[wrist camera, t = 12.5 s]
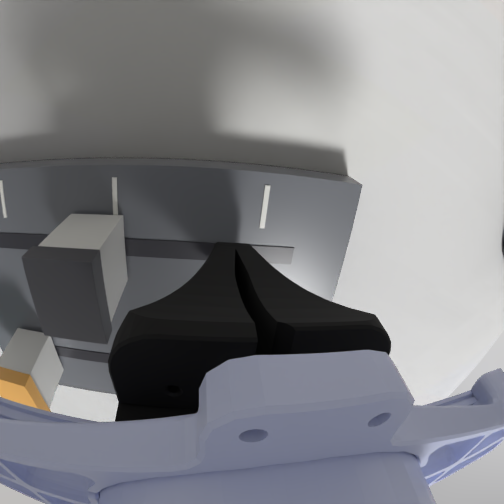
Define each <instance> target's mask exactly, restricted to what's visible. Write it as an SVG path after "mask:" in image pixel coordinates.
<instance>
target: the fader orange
mask: <svg viewBox="0 0 504 504" xmlns="http://www.w3.org/2000/svg"><path fill="white" fill-rule="evenodd" d="M63 371H64V369H63V367H62V364H61V362H60V359H59V357H58V354H57V352H56V349H55V346H54V344H53V341H52V338H51V336H45V335H44V333H42V332H36V331H31V330H26V329H21V328H17V330H16V332H15V333H14V335H13V337H12V338H11V340H10V342H9V343H8V345H7V347H6V348H5V350H4V352H3V354H2V355H1V357H0V396H1V397H2V398H5V399H8V400H11V401H14V402H17V403H20V404H24V405H27V406H31V407H34V408H38V409H41V410H45V411H49V412H51V411H50V409H49V408H50V405H51V403H52V400H53V397H54V394H55V391H56V389H57V386H58V383H59V381H60V378H61V376H62V373H63Z"/></svg>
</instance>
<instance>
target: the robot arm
mask: <svg viewBox="0 0 504 504" xmlns="http://www.w3.org/2000/svg"><path fill="white" fill-rule="evenodd" d="M390 350H391V341H390V338H389V336H388V334H387V332H386V331H385V329H384V327H383V326H382V324H381V323H380V321H379V320H378V318H377V317H376V315H374V314H371V313H367V312H363V311H359V310H355V309H351V308H348V307H345V306H342V305H339V304H336V303H334V302H331V301H329V300H326V299H324V298H322V297H320V296H318V295H316V294H314V293H311V292H309V291H308V290H306V289H304V288H302V287H301V286H299V285H298V284H296V283H294V282H293V281H291V280H290V279H288V278H287V277H286V276H284V275H283V274H282V273H280V272H279V271H278V270H277V269H275V268H274V267H273V266H272V265H271V264H270V263H269V262H267V261H266V260H265V259H264V258H263V257H262V256H261V255H260V254H259V253H258V252H257V251H256V250H255V249H254V248H253V247H252V246H251V245H250V244H246V243H227V242H217V243H215V244H214V248H213V250H212V252H211V254H210V255H209V257H208V258H207V260H206V261H205V263H204V264H203V265H202V267H201V268H200V269H199V270H198V271H197V273H196V274H195V275H194V276H193V277H192V278H191V279H190V280H189V281H187V282H186V283H185V284H184V285H183V286H182V287H180V288H179V289H177V290H176V291H174V292H173V293H171V294H169V295H167V296H166V297H164V298H162V299H160V300H157V301H155V302H153V303H151V304H148V305H145V306H142V307H139V308H136V309H133V310H130V311H129V312H128V313H127V315H126V317H125V318H124V320H123V322H122V324H121V326H120V328H119V329H118V331H117V334H116V336H115V338H114V342H113V345H112V348H111V352H110V355H109V359H108V368H109V373H110V377H111V380H112V383H113V386H114V389H115V392H116V395H117V398H118V401H119V404H118V409H117V414H116V419H115V422H96V421H90V420H85V419H80V418H75V417H70V416H66V415H62V414H57V413H53V412H49V411H45V410H41V409H38V408H34V407H31V406H27V405H24V404H20V403H17V402H14V401H11V400H8V399H5V398H2V397H0V483H1V484H3V485H6V486H7V487H9V488H11V489H13V490H16V491H18V492H20V493H22V494H24V495H26V496H29V497H31V498H33V499H36V500H38V501H40V502H43V503H45V504H436V503H435V500H434V498H433V495H432V493H431V491H430V488H429V486H431V485H433V484H435V483H437V482H438V481H440V480H442V479H444V478H446V477H448V476H450V475H452V474H453V473H455V472H457V471H459V470H460V469H462V468H464V467H465V466H467V465H469V464H471V463H472V462H474V461H476V460H477V459H479V458H481V457H482V456H484V455H486V454H487V453H489V452H491V451H492V450H493V449H495V448H496V447H497V446H498V445H499V444H500V443H501V442H502V441H503V440H504V372H503V371H502V369H496V370H494V371H491V372H488V373H485V374H484V375H482V376H481V377H480V378H479V379H478V380H477V381H476V382H475V384H474V385H473V387H472V389H471V390H470V391H467V392H464V393H461V394H459V395H456V396H453V397H450V398H446V399H443V400H440V401H437V402H433V403H430V404H427V405H423V406H418V405H413V403H414V401H415V400H414V398H413V396H412V394H411V392H410V390H409V389H408V387H407V385H406V383H405V382H404V380H403V378H402V376H401V375H400V373H399V371H398V369H397V368H396V366H395V364H394V362H393V361H392V360H391V358H390V357H389V353H390Z"/></svg>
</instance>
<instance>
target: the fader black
mask: <svg viewBox="0 0 504 504" xmlns="http://www.w3.org/2000/svg"><path fill="white" fill-rule="evenodd" d="M21 258H22V262H23V266H24V270H25V274H26V278H27V282H28V286H29V289H30V293H31V296H32V300H33V303H34V306H35V309H36V312H37V315H38V318H39V321H40V324H41V327H42V330H43V333H44V335H45V336H51V337H57V338H63V339H70V340H77V341H84V342H91V343H99V344H108V341H109V338H110V335H111V332H112V325H111V322H112V319H113V316H114V314H115V311H116V308H117V306H118V303H119V301H120V298H121V295H122V293H123V290H124V288H125V286H126V283H127V281H128V276H127V265H126V253H125V239H124V221H123V215H100V214H70V215H69V216H68V217H67V218H66V219H65V220H64V221H63V222H62V223H61V224H60V225H59V226H57V227H56V228H55V229H54V230H53V231H52V232H51V233H50V234H49V235H48V236H47V237H46V238H45V239H44V240H43V241H42V242H41V243H40V244H39V245H38V246H32V247H31V248H30V249H29V250H28V251H27V252H26V253H25V254H24V255H23V256H22V257H21Z"/></svg>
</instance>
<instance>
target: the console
mask: <svg viewBox="0 0 504 504" xmlns="http://www.w3.org/2000/svg"><path fill="white" fill-rule="evenodd" d="M361 188H362V184H360V183H359V182H357V181H355V180H354V179H352V178H351V177H349V176H345V175H338V174H331V173H324V172H317V171H310V170H302V169H294V168H285V167H277V166H267V165H257V164H246V163H234V162H221V161H206V160H188V159H163V158H77V159H53V160H37V161H23V162H12V163H1V164H0V347H1V349H2V351H3V352H4V350H5V348H6V347H7V345H8V343H9V342H10V340H11V338H12V337H13V335H14V333H15V332H16V330H17V328H21V329H26V330H31V331H36V332H42V333H43V330H42V327H41V324H40V321H39V318H38V315H37V312H36V309H35V306H34V303H33V300H32V296H31V293H30V289H29V286H28V282H27V278H26V274H25V270H24V266H23V262H22V258H21V257H22V256H23V255H24V254H25V253H26V252H27V251H28V250H29V249H30V248H31V247H32V246H38V245H39V244H40V243H41V242H42V241H43V240H44V239H45V238H46V237H47V236H48V235H49V234H50V233H51V232H52V231H53V230H54V229H55V228H56V227H57V226H59V225H60V224H61V223H62V222H63V221H64V220H65V219H66V218H67V217H68V216H69V215H70V214H100V215H123V221H124V239H125V253H126V265H127V276H128V281H127V283H126V286H125V288H124V290H123V293H122V295H121V298H120V301H119V303H118V306H117V308H116V311H115V314H114V316H113V319H112V322H111V325H112V332H111V335H110V338H109V341H108V344H99V343H91V342H84V341H77V340H70V339H63V338H57V337H51V338H52V341H53V344H54V346H55V349H56V352H57V354H58V357H59V359H60V362H61V364H62V367H63V369H64V371H63V373H62V376H61V378H60V381H59V383H58V384H59V385H64V386H69V387H74V388H80V389H85V390H91V391H97V392H104V393H111V394H116V392H115V389H114V386H113V383H112V380H111V377H110V373H109V368H108V359H109V355H110V352H111V348H112V345H113V342H114V338H115V336H116V334H117V331H118V329H119V328H120V326H121V324H122V322H123V320H124V318H125V317H126V315H127V313H128V312H129V311H130V310H133V309H136V308H139V307H142V306H145V305H148V304H151V303H153V302H155V301H157V300H160V299H162V298H164V297H166V296H167V295H169V294H171V293H173V292H174V291H176V290H177V289H179V288H180V287H182V286H183V285H184V284H185V283H186V282H187V281H189V280H190V279H191V278H192V277H193V276H194V275H195V274H196V273H197V271H198V270H199V269H200V268H201V267H202V265H203V264H204V263H205V261H206V260H207V258H208V257H209V255H210V254H211V252H212V250H213V248H214V244H215V243H217V242H227V243H246V244H250V245H251V246H252V247H253V248H254V249H255V250H256V251H257V252H258V253H259V254H260V255H261V256H262V257H263V258H264V259H265V260H266V261H267V262H269V263H270V264H271V265H272V266H273V267H274V268H275V269H277V270H278V271H279V272H280V273H282V274H283V275H284V276H286V277H287V278H288V279H290V280H291V281H293V282H294V283H296V284H298V285H299V286H301V287H302V288H304V289H306V290H308V291H309V292H311V293H314V294H316V295H318V296H320V297H322V298H324V299H326V300H329V301H331V302H332V299H333V296H334V293H335V289H336V286H337V282H338V279H339V275H340V272H341V268H342V265H343V261H344V258H345V254H346V250H347V246H348V243H349V239H350V235H351V231H352V227H353V223H354V219H355V215H356V210H357V206H358V202H359V197H360V193H361Z"/></svg>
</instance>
